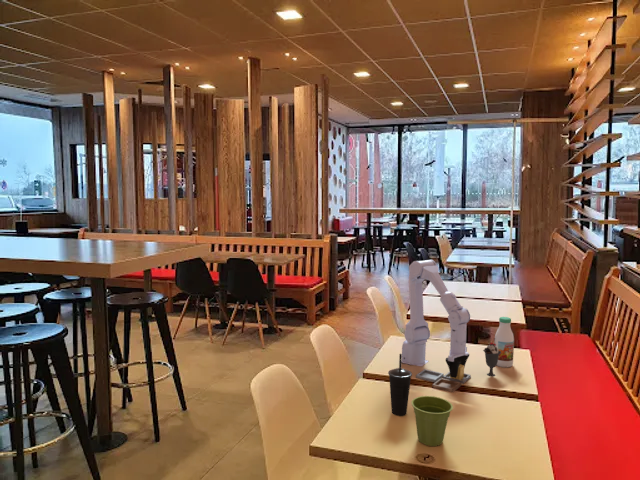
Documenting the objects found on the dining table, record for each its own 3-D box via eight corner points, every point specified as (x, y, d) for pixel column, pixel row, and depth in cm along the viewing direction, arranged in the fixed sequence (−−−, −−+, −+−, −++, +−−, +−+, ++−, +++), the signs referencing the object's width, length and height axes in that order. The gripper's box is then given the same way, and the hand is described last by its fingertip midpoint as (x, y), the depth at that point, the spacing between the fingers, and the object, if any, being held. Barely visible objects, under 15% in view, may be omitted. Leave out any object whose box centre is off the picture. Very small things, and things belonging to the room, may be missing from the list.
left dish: (415, 378, 198) (415, 375, 198) (424, 372, 205) (424, 369, 204) (435, 383, 194) (435, 379, 193) (443, 377, 200) (443, 373, 200)
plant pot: (425, 454, 143) (427, 416, 141) (402, 435, 154) (403, 399, 152) (460, 446, 147) (461, 408, 146) (435, 428, 158) (436, 393, 157)
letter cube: (449, 378, 197) (450, 365, 197) (453, 375, 201) (454, 362, 200) (460, 380, 195) (460, 368, 194) (463, 377, 198) (464, 365, 198)
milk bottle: (490, 364, 214) (492, 318, 212) (498, 360, 220) (500, 314, 218) (508, 369, 209) (510, 321, 207) (515, 364, 215) (518, 317, 212)
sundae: (497, 373, 205) (499, 336, 203) (501, 379, 198) (503, 341, 196) (480, 372, 205) (482, 336, 204) (484, 378, 199) (485, 341, 197)
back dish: (442, 380, 197) (443, 376, 197) (450, 374, 203) (450, 370, 203) (463, 385, 192) (463, 381, 192) (470, 378, 199) (470, 374, 199)
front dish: (432, 388, 189) (432, 384, 189) (440, 381, 195) (441, 378, 195) (453, 393, 184) (453, 389, 184) (461, 386, 191) (461, 382, 191)
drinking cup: (412, 409, 171) (414, 351, 169) (408, 419, 164) (410, 359, 162) (389, 406, 173) (391, 349, 171) (385, 416, 166) (386, 356, 164)
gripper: (461, 346, 188) (460, 382, 189) (475, 337, 200) (473, 371, 201) (443, 343, 192) (442, 378, 194) (457, 334, 204) (456, 367, 205)
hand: (457, 374), depth 198 cm, fingers open, 6 cm apart
